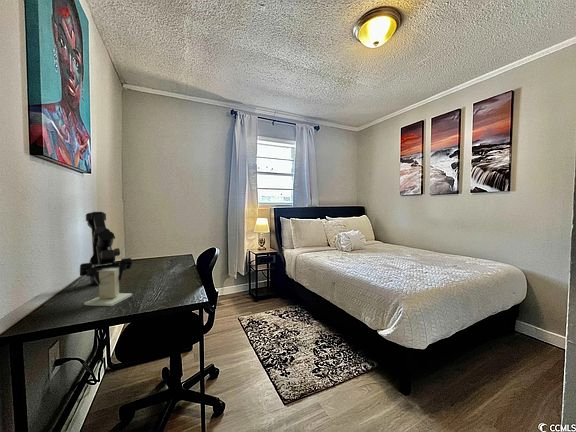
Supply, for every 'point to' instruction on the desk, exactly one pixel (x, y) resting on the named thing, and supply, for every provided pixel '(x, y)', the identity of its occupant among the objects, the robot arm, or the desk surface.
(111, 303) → the sage tile
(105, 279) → the skincare box
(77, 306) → the desk surface
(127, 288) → the desk surface
